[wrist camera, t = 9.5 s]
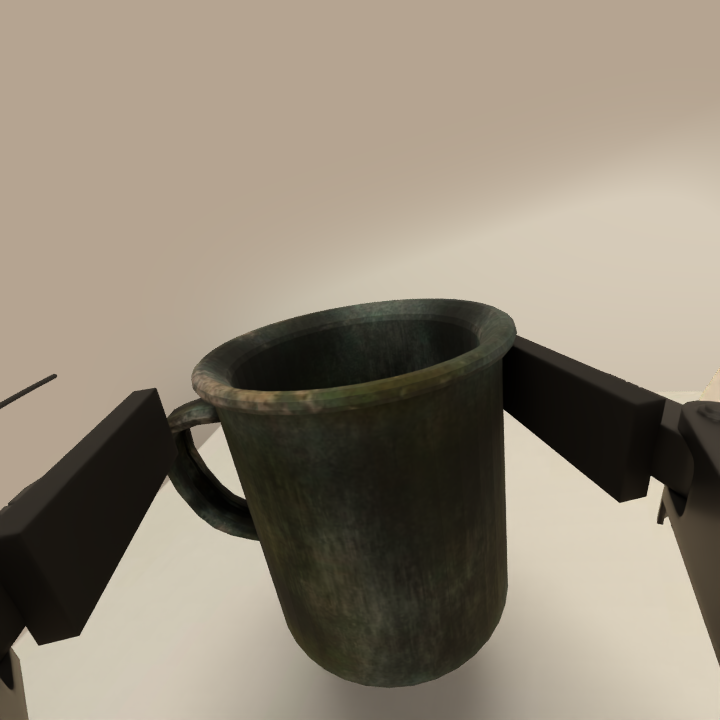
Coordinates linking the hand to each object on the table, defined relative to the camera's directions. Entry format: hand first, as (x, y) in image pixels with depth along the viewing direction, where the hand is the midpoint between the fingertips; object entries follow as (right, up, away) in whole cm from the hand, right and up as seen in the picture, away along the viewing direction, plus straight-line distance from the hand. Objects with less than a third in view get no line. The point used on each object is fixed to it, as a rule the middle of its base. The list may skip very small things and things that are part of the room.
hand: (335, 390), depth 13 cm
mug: (+1, -9, +4) cm, 10 cm away
